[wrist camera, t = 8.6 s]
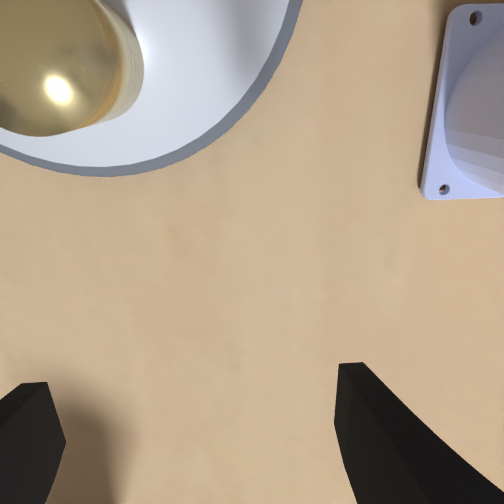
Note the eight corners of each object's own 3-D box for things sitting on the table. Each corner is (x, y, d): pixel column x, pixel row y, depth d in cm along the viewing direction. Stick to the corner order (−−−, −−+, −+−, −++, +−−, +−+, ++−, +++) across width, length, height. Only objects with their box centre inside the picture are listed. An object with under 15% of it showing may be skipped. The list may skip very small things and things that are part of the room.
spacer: (129, -12, 12) (79, -61, 8) (154, 116, 14) (123, 127, 10) (9, 2, 12) (-101, -41, 8) (48, 128, 14) (-28, 144, 10)
